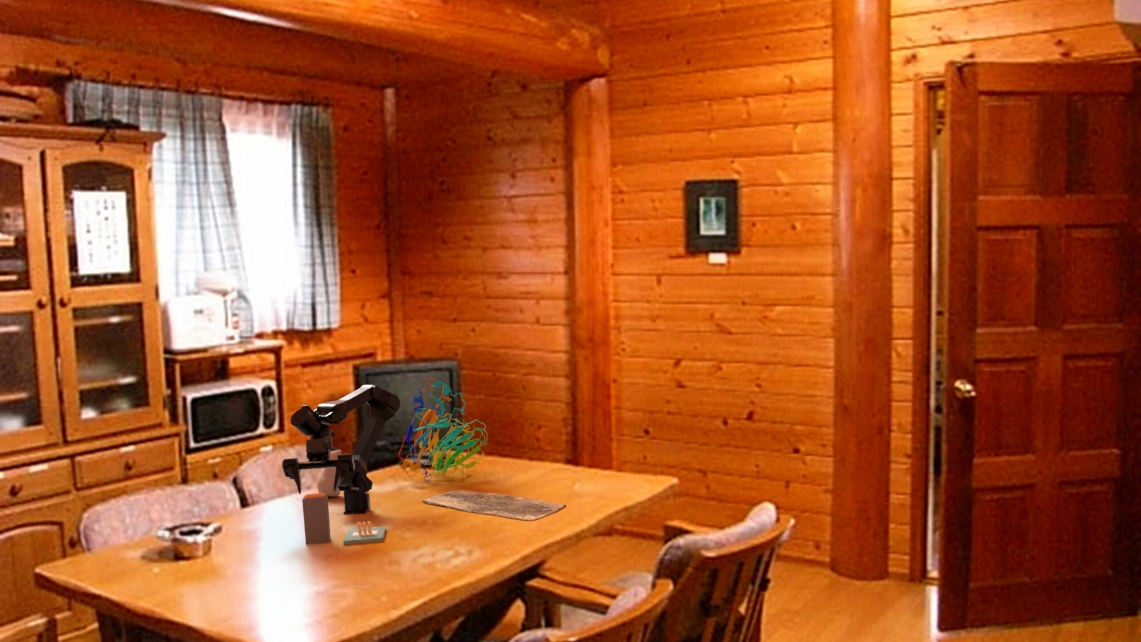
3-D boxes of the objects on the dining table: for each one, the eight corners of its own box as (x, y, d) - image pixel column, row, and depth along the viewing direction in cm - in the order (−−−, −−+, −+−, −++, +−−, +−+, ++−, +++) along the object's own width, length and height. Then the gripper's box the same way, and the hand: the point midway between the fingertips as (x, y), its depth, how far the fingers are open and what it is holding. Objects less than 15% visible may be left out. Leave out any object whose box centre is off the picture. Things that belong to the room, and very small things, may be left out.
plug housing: (307, 540, 266) (304, 493, 265) (330, 538, 266) (327, 491, 266) (305, 544, 262) (302, 496, 262) (329, 542, 263) (325, 494, 262)
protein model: (514, 398, 338) (443, 362, 320) (499, 490, 323) (423, 459, 305) (457, 416, 358) (387, 383, 341) (440, 504, 343) (366, 475, 325)
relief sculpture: (529, 522, 271) (529, 519, 271) (416, 502, 300) (416, 499, 300) (573, 507, 286) (573, 504, 286) (461, 489, 315) (461, 486, 315)
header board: (348, 533, 271) (347, 518, 271) (385, 529, 272) (384, 515, 272) (343, 544, 260) (342, 529, 260) (382, 541, 261) (381, 526, 261)
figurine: (352, 493, 317) (349, 446, 315) (329, 501, 308) (325, 453, 307) (333, 491, 321) (329, 445, 320) (309, 499, 313) (305, 451, 312)
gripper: (280, 429, 272) (276, 478, 262) (350, 424, 274) (348, 472, 264) (287, 452, 281) (283, 500, 270) (355, 447, 283) (354, 495, 272)
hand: (317, 491), depth 269 cm, fingers open, 9 cm apart
